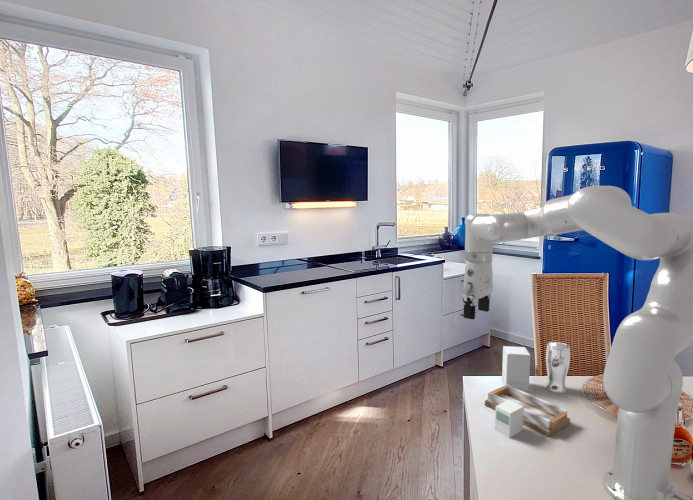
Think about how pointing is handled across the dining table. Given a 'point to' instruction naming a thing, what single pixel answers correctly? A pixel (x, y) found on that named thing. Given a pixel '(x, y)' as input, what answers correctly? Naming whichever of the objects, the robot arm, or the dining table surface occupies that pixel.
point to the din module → (509, 418)
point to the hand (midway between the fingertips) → (476, 314)
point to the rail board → (531, 410)
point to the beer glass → (557, 366)
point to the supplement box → (516, 367)
